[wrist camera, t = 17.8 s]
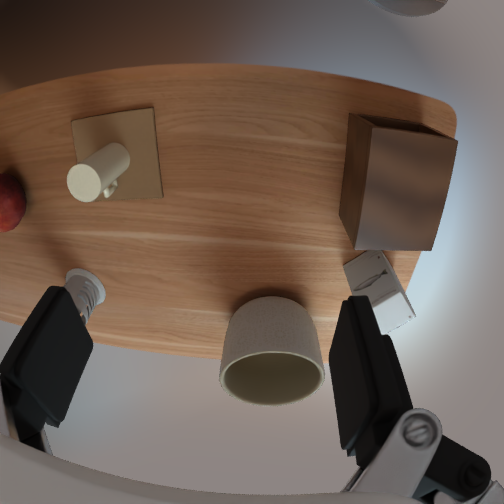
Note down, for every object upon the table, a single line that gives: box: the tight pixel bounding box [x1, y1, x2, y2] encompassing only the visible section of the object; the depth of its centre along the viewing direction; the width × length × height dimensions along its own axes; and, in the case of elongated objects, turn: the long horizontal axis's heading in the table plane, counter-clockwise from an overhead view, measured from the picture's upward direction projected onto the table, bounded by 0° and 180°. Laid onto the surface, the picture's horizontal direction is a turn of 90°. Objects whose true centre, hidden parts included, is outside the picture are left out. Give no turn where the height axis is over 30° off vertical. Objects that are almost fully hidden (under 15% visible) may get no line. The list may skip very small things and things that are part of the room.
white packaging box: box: [343, 250, 416, 335], centre depth 48 cm, size 7×7×13 cm
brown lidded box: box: [339, 113, 458, 251], centre depth 39 cm, size 16×12×10 cm
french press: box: [63, 268, 105, 325], centre depth 48 cm, size 10×12×25 cm
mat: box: [71, 107, 164, 202], centre depth 43 cm, size 14×14×1 cm
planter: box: [219, 296, 325, 406], centre depth 54 cm, size 17×17×15 cm
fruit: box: [0, 173, 27, 232], centre depth 42 cm, size 11×10×10 cm
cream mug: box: [67, 143, 130, 202], centre depth 39 cm, size 7×5×10 cm
